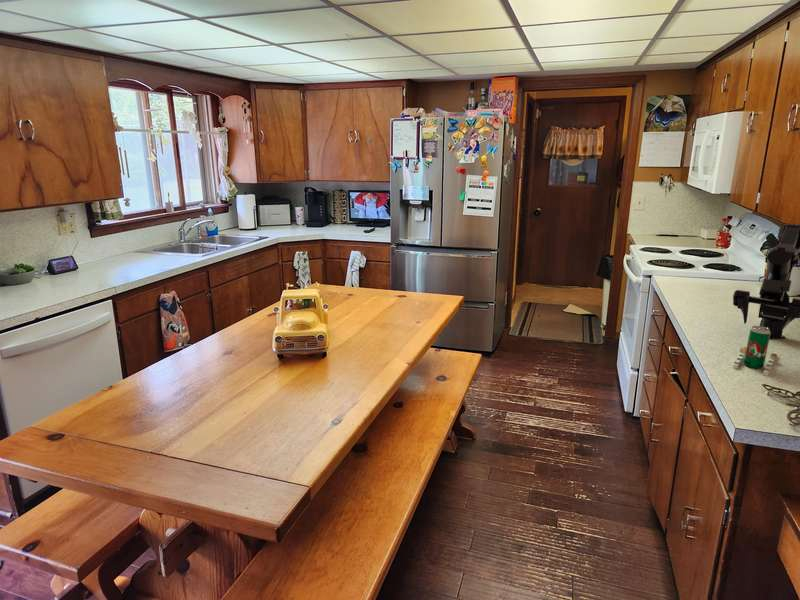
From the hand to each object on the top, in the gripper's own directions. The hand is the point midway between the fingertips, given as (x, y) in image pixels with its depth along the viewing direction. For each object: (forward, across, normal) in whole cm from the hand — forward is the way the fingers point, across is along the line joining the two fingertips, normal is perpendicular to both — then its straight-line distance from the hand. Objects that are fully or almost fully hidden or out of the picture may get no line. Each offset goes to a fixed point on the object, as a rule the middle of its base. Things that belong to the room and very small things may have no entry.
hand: (762, 326), depth 158 cm
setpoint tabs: (+5, 0, +9) cm, 11 cm away
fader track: (+8, 0, +8) cm, 11 cm away
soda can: (+11, 0, +5) cm, 12 cm away
